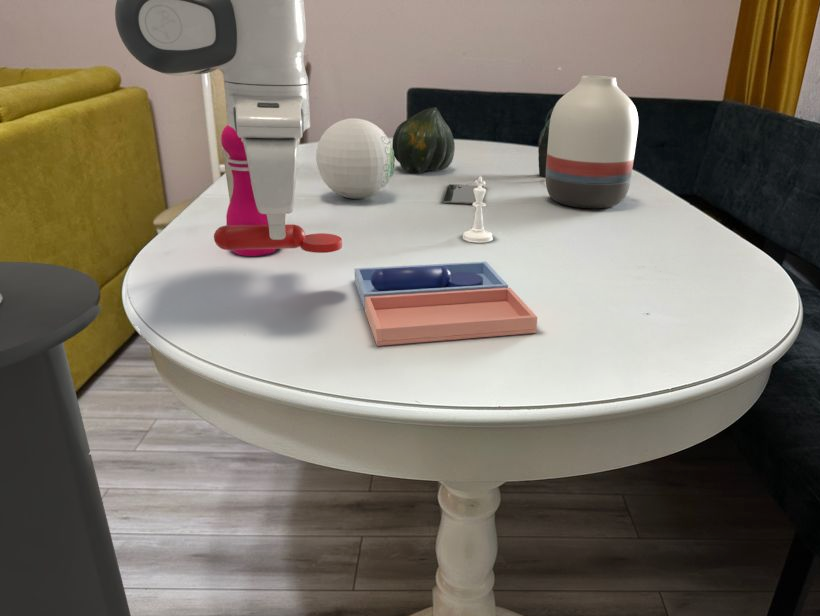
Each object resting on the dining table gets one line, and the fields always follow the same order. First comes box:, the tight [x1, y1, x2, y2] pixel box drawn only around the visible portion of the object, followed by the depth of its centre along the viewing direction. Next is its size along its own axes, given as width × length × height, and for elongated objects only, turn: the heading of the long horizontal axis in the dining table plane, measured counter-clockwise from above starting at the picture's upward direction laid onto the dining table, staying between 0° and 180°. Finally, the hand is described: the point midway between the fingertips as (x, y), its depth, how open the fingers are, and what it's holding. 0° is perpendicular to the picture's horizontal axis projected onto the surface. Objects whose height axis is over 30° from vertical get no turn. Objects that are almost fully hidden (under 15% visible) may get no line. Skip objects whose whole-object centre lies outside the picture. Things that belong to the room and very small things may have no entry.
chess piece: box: [462, 176, 494, 244], centre depth 108 cm, size 5×5×10 cm
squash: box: [391, 107, 456, 173], centre depth 159 cm, size 14×15×15 cm
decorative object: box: [315, 117, 396, 200], centre depth 130 cm, size 15×15×15 cm
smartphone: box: [442, 183, 485, 205], centre depth 139 cm, size 8×1×16 cm
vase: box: [544, 75, 639, 210], centre depth 132 cm, size 17×17×24 cm
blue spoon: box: [371, 266, 483, 291], centre depth 87 cm, size 15×5×3 cm, turn 105°
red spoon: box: [213, 223, 343, 254], centre depth 80 cm, size 15×5×3 cm, turn 105°
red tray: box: [364, 287, 538, 347], centre depth 78 cm, size 18×10×2 cm, turn 105°
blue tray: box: [353, 261, 509, 311], centre depth 87 cm, size 18×10×2 cm, turn 105°
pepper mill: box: [220, 124, 277, 257], centre depth 97 cm, size 7×7×20 cm
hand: (277, 233), depth 80 cm, fingers closed on red spoon, 3 cm apart
